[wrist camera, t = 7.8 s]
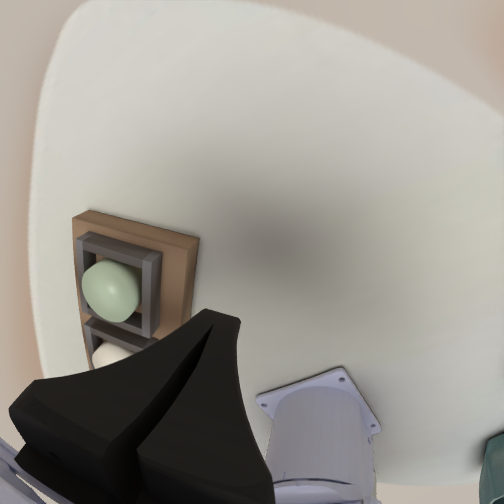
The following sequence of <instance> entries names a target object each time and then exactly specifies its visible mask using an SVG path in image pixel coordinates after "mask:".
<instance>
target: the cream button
mask: <svg viewBox="0 0 504 504" xmlns="http://www.w3.org/2000/svg"><path fill="white" fill-rule="evenodd" d="M135 353H137V352H134V351H132V350H129V349H127V348H125V347H122V346H120V345H117V344H115V343H112V342H110V341H108V340H105V341H104V342H103V343H102V344H101V346H100V347H99V348H98V349H97V350H96V351H95V352H94V354H93V356H92V362H93V365H94V367H95V369H97V368H100V367H103V366H106V365H109V364H111V363H114V362H117V361H119V360H122V359H124V358H126V357H129V356H131V355H133V354H135Z"/></svg>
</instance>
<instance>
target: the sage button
mask: <svg viewBox="0 0 504 504" xmlns="http://www.w3.org/2000/svg"><path fill="white" fill-rule="evenodd" d="M82 290H83V294H84V297H85V299H86V301H87V302H88V304H89V305H90V307H91V308H92V309H93V310H94V311H95V312H96V313H97V314H98V315H99V316H101V317H102V318H104V319H106V320H108V321H111V322H123V321H125V320H126V319H127V318H128V317H129V316H130V315H131V314H132V313H133V312H134V311H135V310H136V309H137V307H138V306H139V305H140V304H141V303H142V272H141V270H140V269H139V268H138V267H135V266H132V265H129V264H126V263H122V262H119V261H116V260H113V259H110V258H107V257H104V258H103V259H101V260H100V261H99V262H97V263H96V264H94V265H93V266H92V267H90V268H89V269H88V270H87V271H86V272H85V273H84V275H83V278H82Z"/></svg>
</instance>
